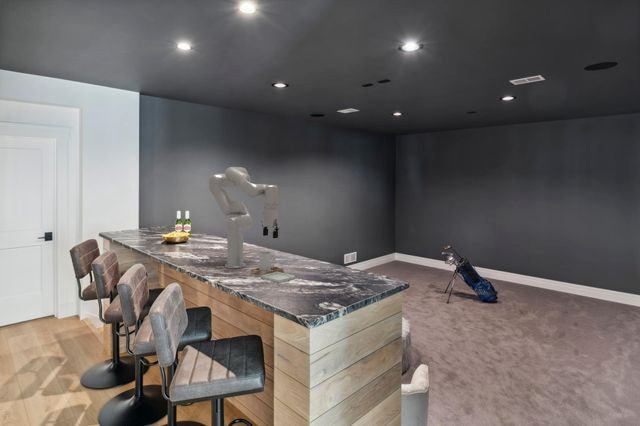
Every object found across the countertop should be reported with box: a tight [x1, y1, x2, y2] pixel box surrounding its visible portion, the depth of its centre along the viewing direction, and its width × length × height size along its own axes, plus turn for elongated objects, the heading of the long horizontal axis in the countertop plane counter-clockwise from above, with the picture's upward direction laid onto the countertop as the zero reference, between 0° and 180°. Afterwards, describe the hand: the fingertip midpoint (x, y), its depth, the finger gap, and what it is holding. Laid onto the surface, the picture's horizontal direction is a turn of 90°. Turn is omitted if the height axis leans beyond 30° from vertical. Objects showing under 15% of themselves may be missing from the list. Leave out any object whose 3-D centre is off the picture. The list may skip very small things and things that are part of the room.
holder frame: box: [250, 265, 284, 277], centre depth 217 cm, size 12×14×2 cm
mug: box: [258, 251, 276, 272], centre depth 216 cm, size 10×7×12 cm, turn 127°
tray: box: [260, 272, 296, 284], centre depth 204 cm, size 14×12×2 cm
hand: (270, 236), depth 212 cm, fingers open, 9 cm apart
